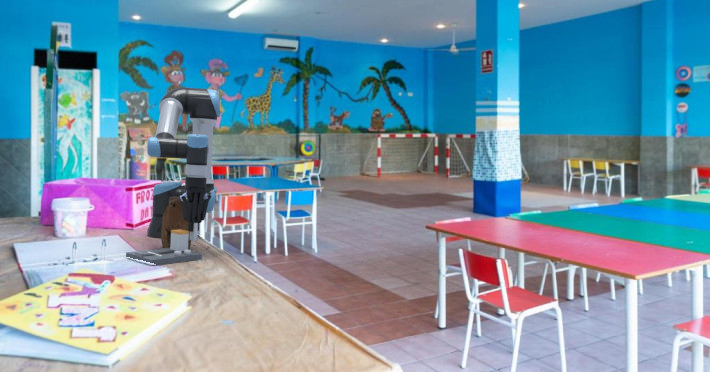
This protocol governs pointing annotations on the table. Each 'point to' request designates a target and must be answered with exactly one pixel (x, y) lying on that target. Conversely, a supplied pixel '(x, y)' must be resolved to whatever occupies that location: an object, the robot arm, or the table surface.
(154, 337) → the table surface
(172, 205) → the brown rounded upright piece
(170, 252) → the console board
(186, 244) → the fader tab
